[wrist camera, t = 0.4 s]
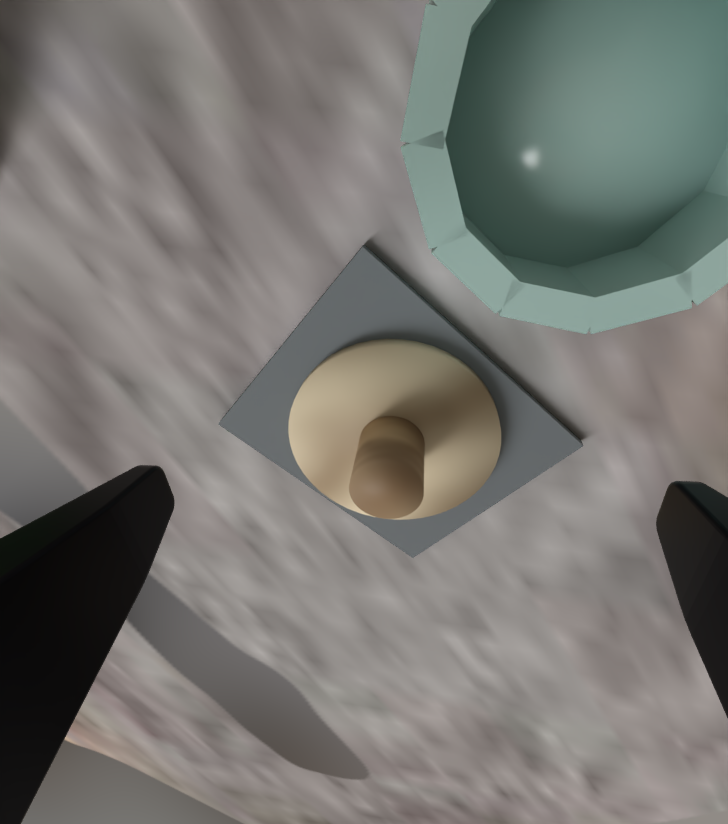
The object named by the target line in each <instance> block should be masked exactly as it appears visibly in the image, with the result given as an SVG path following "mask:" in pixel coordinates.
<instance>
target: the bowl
mask: <svg viewBox="0 0 728 824" xmlns="http://www.w3.org/2000/svg"><path fill="white" fill-rule="evenodd" d="M400 141H403V142H406V143H405V144H404V145H403V146H401V150H402V154H403V157H404V161H405V165H406V168H407V172H408V175H409V179H410V183H411V186H412V190H413V193H414V197H415V200H416V204H417V208H418V211H419V215H420V218H421V222H422V226H423V229H424V233H425V236H426V240H427V243H428V247H429V249H431V248H432V254H433V255H434V256H435V257H436V258H437V259H438V260H439V261H440V262H441V263H442V264H443V265H444V266H445V267H446V268H448V269H449V270H450V271H451V272H452V273H453V274H454V275H455V276H456V277H457V278H458V279H459V280H460V281H461V282H462V283H463V284H464V285H465V286H467V287H468V288H469V289H470V290H471V291H472V292H473V293H474V294H475V295H476V296H477V297H478V298H479V299H480V300H481V301H482V302H483V303H485V304H486V305H487V306H488V307H489V308H490V309H491V310H492V311H493V312H494V313H495V314H496V313H497V312H498V313H499V316H502V317H507V318H511V319H516V320H521V321H526V322H530V323H535V324H540V325H545V326H549V327H554V328H559V329H564V330H568V331H573V332H578V333H583V334H587V332H588V331H589V332H590V333H591V334H593V333H597V332H601V331H605V330H609V329H613V328H617V327H620V326H624V325H628V324H632V323H636V322H640V321H644V320H648V319H651V318H655V317H659V316H663V315H667V314H671V313H675V312H678V311H682V310H686V309H690V308H692V302H693V303H694V304H696V305H698V304H700V303H701V302H703V301H704V300H705V299H707V298H708V297H709V296H711V295H712V294H714V293H715V292H716V291H718V290H719V289H720V288H722V287H723V286H725V285H726V284H727V283H728V0H429V4H426V6H425V12H424V17H423V22H422V28H421V33H420V38H419V44H418V49H417V55H416V60H415V65H414V71H413V76H412V81H411V87H410V92H409V97H408V103H407V108H406V114H405V119H404V124H403V130H402V135H401V140H400Z"/></svg>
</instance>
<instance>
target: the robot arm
mask: <svg viewBox="0 0 728 824" xmlns="http://www.w3.org/2000/svg"><path fill="white" fill-rule="evenodd" d="M173 509H174V496H173V494H172V491H171V488H170V486H169V483H168V481H167V478H166V476H165V473H164V471H163V469H162V468H161V467H159V466H152V465H140V466H136V467H134V468H132V469H130V470H129V471H127V472H125V473H123V474H121V475H119V476H117V477H115V478H113V479H112V480H110V481H108V482H106V483H104V484H102V485H100V486H98V487H96V488H95V489H93V490H91V491H89V492H87V493H85V494H83V495H82V496H80V497H78V498H76V499H74V500H72V501H70V502H68V503H66V504H65V505H63V506H61V507H59V508H57V509H55V510H53V511H51V512H49V513H48V514H46V515H44V516H42V517H40V518H38V519H36V520H34V521H32V522H31V523H29V524H27V525H25V526H23V527H21V528H19V529H17V530H15V531H14V532H12V533H10V534H8V535H6V536H4V537H2V538H0V824H21V822H22V820H23V818H24V816H25V815H26V813H27V811H28V809H29V807H30V805H31V803H32V801H33V799H34V797H35V795H36V793H37V791H38V789H39V787H40V785H41V783H42V781H43V780H44V778H45V776H46V774H47V772H48V770H49V768H50V766H51V764H52V762H53V760H54V758H55V756H56V754H57V752H58V750H59V748H60V746H61V744H62V743H63V741H64V739H65V737H66V735H67V733H68V731H69V729H70V727H71V725H72V723H73V721H74V719H75V717H76V715H77V713H78V711H79V709H80V707H81V706H82V704H83V702H84V700H85V698H86V696H87V694H88V692H89V690H90V688H91V686H92V684H93V682H94V680H95V678H96V676H97V674H98V672H99V670H100V668H101V667H102V665H103V663H104V661H105V659H106V657H107V655H108V653H109V651H110V649H111V647H112V645H113V643H114V641H115V639H116V637H117V635H118V633H119V631H120V630H121V628H122V626H123V624H124V622H125V620H126V618H127V616H128V614H129V612H130V610H131V608H132V606H133V604H134V602H135V600H136V598H137V596H138V594H139V592H140V590H141V588H142V586H143V584H144V582H145V580H146V577H147V575H148V573H149V571H150V568H151V566H152V563H153V561H154V558H155V555H156V553H157V550H158V548H159V545H160V543H161V540H162V538H163V535H164V533H165V530H166V528H167V525H168V522H169V520H170V517H171V515H172V512H173ZM656 527H657V533H658V536H659V539H660V542H661V546H662V549H663V552H664V555H665V559H666V562H667V565H668V568H669V571H670V575H671V578H672V581H673V584H674V588H675V591H676V594H677V597H678V600H679V604H680V607H681V610H682V613H683V615H684V618H685V621H686V623H687V626H688V628H689V631H690V633H691V636H692V638H693V640H694V642H695V645H696V647H697V649H698V652H699V654H700V656H701V658H702V661H703V663H704V665H705V668H706V670H707V672H708V674H709V677H710V679H711V681H712V684H713V686H714V688H715V690H716V693H717V695H718V697H719V699H720V702H721V704H722V706H723V709H724V711H725V713H726V715H727V718H728V497H726V496H724V495H723V494H721V493H719V492H718V491H716V490H714V489H713V488H711V487H709V486H707V485H706V484H704V483H701V482H691V481H675V482H672V483H671V484H670V485H669V486H668V488H667V491H666V494H665V496H664V499H663V502H662V505H661V508H660V510H659V513H658V516H657V521H656Z"/></svg>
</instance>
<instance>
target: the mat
mask: <svg viewBox="0 0 728 824" xmlns="http://www.w3.org/2000/svg"><path fill="white" fill-rule="evenodd" d="M379 339H404V340H411V341H417V342H421V343H424V344H428V345H432V346H434V347H437V348H439V349H441V350H444V351H446V352H448V353H449V354H451V355H453V356H455V357H456V358H458V359H460V360H461V361H462V362H463V363H465V364H466V365H467V366H469V367H470V368H471V369H472V370H473V371H474V372H475V373H476V374H477V375H478V376H479V377H480V379H481V380H482V381H483V383H484V384H485V385H486V387H487V388H488V390H489V392H490V394H491V396H492V398H493V400H494V403H495V406H496V409H497V412H498V416H499V421H500V427H501V448H500V454H499V457H498V460H497V463H496V466H495V468H494V470H493V471H492V473H491V475H490V477H489V478H488V479H487V481H486V482H485V484H484V485H483V486H482V487H481V488H480V489H479V490H478V491H477V492H476V493H475V494H474V495H472V496H471V497H470V498H469V499H467V500H466V501H464V502H463V503H461V504H459V505H458V506H456V507H454V508H452V509H450V510H447V511H445V512H442V513H439V514H436V515H433V516H428V517H424V518H417V519H406V520H394V519H383V518H377V517H372V516H368V515H364V514H361V513H358V512H355V511H353V510H350V509H348V508H346V507H344V506H342V505H339V504H338V503H336V502H334V501H333V500H331V499H330V498H328V497H327V496H325V495H324V494H323V493H322V492H320V491H319V490H318V489H317V488H316V487H315V486H314V485H313V484H312V483H311V482H310V481H309V480H308V478H307V477H306V476H305V475H304V473H303V472H302V470H301V469H300V467H299V466H298V464H297V462H296V459H295V457H294V455H293V452H292V449H291V445H290V440H289V433H288V426H289V416H290V411H291V408H292V405H293V402H294V399H295V397H296V395H297V393H298V391H299V389H300V387H301V386H302V384H303V382H304V380H305V379H306V378H307V376H308V375H309V374H310V372H311V371H312V370H313V369H314V368H315V367H316V366H317V365H319V364H320V363H321V362H322V361H323V360H325V359H326V358H328V357H329V356H330V355H332V354H334V353H336V352H338V351H340V350H341V349H343V348H346V347H349V346H352V345H354V344H357V343H361V342H366V341H370V340H379ZM219 425H220V426H222V427H223V428H225V429H226V430H227V431H229V432H230V433H232V434H233V435H235V436H236V437H238V438H239V439H241V440H242V441H243V442H245V443H246V444H248V445H249V446H251V447H252V448H254V449H255V450H257V451H258V452H259V453H261V454H262V455H264V456H265V457H267V458H268V459H270V460H271V461H273V462H274V463H275V464H277V465H278V466H280V467H281V468H283V469H284V470H286V471H287V472H289V473H290V474H291V475H293V476H294V477H296V478H297V479H299V480H300V481H302V482H303V483H305V484H306V485H307V486H309V487H310V488H312V489H313V490H315V491H316V492H318V493H319V494H321V495H322V496H323V497H325V498H326V499H328V500H329V501H331V502H332V503H334V504H335V505H337V506H338V507H339V508H341V509H342V510H344V511H345V512H347V513H348V514H350V515H351V516H353V517H354V518H355V519H357V520H358V521H360V522H361V523H363V524H364V525H366V526H367V527H369V528H370V529H371V530H373V531H374V532H376V533H377V534H379V535H380V536H382V537H383V538H385V539H386V540H387V541H389V542H390V543H392V544H393V545H395V546H396V547H398V548H399V549H401V550H402V551H403V552H405V553H406V554H408V555H409V556H411V557H412V558H413V557H415V556H417V555H418V554H420V553H421V552H423V551H424V550H426V549H427V548H429V547H430V546H432V545H433V544H435V543H436V542H438V541H439V540H441V539H442V538H444V537H445V536H447V535H448V534H450V533H451V532H453V531H455V530H456V529H458V528H459V527H461V526H462V525H464V524H465V523H467V522H468V521H470V520H471V519H473V518H474V517H476V516H477V515H479V514H480V513H482V512H483V511H485V510H486V509H488V508H489V507H491V506H493V505H494V504H496V503H497V502H499V501H500V500H502V499H503V498H505V497H506V496H508V495H509V494H511V493H512V492H514V491H515V490H517V489H518V488H520V487H521V486H523V485H524V484H526V483H528V482H529V481H531V480H532V479H534V478H535V477H537V476H538V475H540V474H541V473H543V472H544V471H546V470H547V469H549V468H550V467H552V466H553V465H555V464H556V463H558V462H559V461H561V460H562V459H564V458H566V457H567V456H569V455H570V454H572V453H573V452H575V451H576V450H578V449H579V448H581V447H582V446H583V444H582V442H581V440H580V439H578V438H577V437H576V436H575V435H574V434H573V433H572V432H571V431H570V430H568V429H567V428H566V427H565V426H564V425H563V424H562V423H561V422H560V421H559V420H557V419H556V418H555V417H554V416H553V415H552V414H551V413H550V412H549V411H547V410H546V409H545V408H544V407H543V406H542V405H541V404H540V403H539V402H538V401H536V400H535V399H534V398H533V397H532V396H531V395H530V394H529V393H528V392H526V391H525V390H524V389H523V388H522V387H521V386H520V385H519V384H518V383H516V382H515V381H514V380H513V379H512V378H511V377H510V376H509V375H508V374H507V373H505V372H504V371H503V370H502V369H501V368H500V367H499V366H498V365H497V364H495V363H494V362H493V361H492V360H491V359H490V358H489V357H488V356H487V355H485V354H484V353H483V352H482V351H481V350H480V349H479V348H478V347H477V346H476V345H474V344H473V343H472V342H471V341H470V340H469V339H468V338H467V337H466V336H464V335H463V334H462V333H461V332H460V331H459V330H458V329H457V328H456V327H455V326H453V325H452V324H451V323H450V322H449V321H448V320H447V319H446V318H445V317H443V316H442V315H441V314H440V313H439V312H438V311H437V310H436V309H435V308H433V307H432V306H431V305H430V304H429V303H428V302H427V301H426V300H425V299H424V298H422V297H421V296H420V295H419V294H418V293H417V292H416V291H415V290H414V289H412V288H411V287H410V286H409V285H408V284H407V283H406V282H405V281H404V280H402V279H401V278H400V277H399V276H398V275H397V274H396V273H395V272H394V271H393V270H391V269H390V268H389V267H388V266H387V265H386V264H385V263H384V262H383V261H381V260H380V259H379V258H378V257H377V256H376V255H375V254H374V253H373V252H372V251H370V250H369V249H368V248H367V247H366V246H365V245H363V246H362V247H361V249H360V250H359V251H358V252H357V254H356V255H355V256H354V257H353V259H352V260H351V261H350V262H349V263H348V265H347V266H346V267H345V268H344V270H343V271H342V272H341V273H340V275H339V276H338V277H337V278H336V279H335V281H334V282H333V283H332V284H331V286H330V287H329V288H328V289H327V291H326V292H325V293H324V294H323V295H322V297H321V298H320V299H319V300H318V302H317V303H316V304H315V305H314V306H313V308H312V309H311V310H310V311H309V313H308V314H307V315H306V316H305V318H304V319H303V320H302V321H301V322H300V324H299V325H298V326H297V327H296V329H295V330H294V331H293V332H292V334H291V335H290V336H289V337H288V338H287V340H286V341H285V342H284V343H283V345H282V346H281V347H280V348H279V350H278V351H277V352H276V353H275V354H274V356H273V357H272V358H271V359H270V361H269V362H268V363H267V364H266V366H265V367H264V368H263V369H262V370H261V372H260V373H259V374H258V375H257V377H256V378H255V379H254V380H253V382H252V383H251V384H250V385H249V386H248V388H247V389H246V390H245V391H244V393H243V394H242V395H241V396H240V398H239V399H238V400H237V401H236V402H235V404H234V405H233V406H232V407H231V409H230V410H229V411H228V412H227V413H226V415H225V416H224V417H223V418H222V420H221V421H220V422H219Z"/></svg>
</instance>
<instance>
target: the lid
mask: <svg viewBox="0 0 728 824" xmlns="http://www.w3.org/2000/svg"><path fill="white" fill-rule="evenodd" d="M288 433H289V440H290V445H291V449H292V452H293V455H294V457H295V459H296V462H297V464H298V466H299V467H300V469H301V470H302V472H303V473H304V475H305V476H306V477H307V478H308V480H309V481H310V482H311V483H312V484H313V485H314V486H315V487H316V488H317V489H318V490H319V491H320V492H322V493H323V494H324V495H325V496H327V497H328V498H330V499H331V500H333V501H334V502H336V503H338V504H339V505H342V506H344V507H346V508H348V509H350V510H353V511H355V512H358V513H361V514H364V515H368V516H372V517H377V518H383V519H394V520H406V519H417V518H424V517H428V516H433V515H436V514H439V513H442V512H445V511H447V510H450V509H452V508H454V507H456V506H458V505H459V504H461V503H463V502H464V501H466V500H467V499H469V498H470V497H471V496H472V495H474V494H475V493H476V492H477V491H478V490H479V489H480V488H481V487H482V486H483V485H484V484H485V482H486V481H487V479H488V478H489V477H490V475H491V473H492V471H493V470H494V468H495V466H496V463H497V460H498V457H499V454H500V448H501V427H500V421H499V416H498V412H497V409H496V406H495V403H494V400H493V398H492V396H491V394H490V392H489V390H488V388H487V387H486V385H485V384H484V383H483V381H482V380H481V379H480V377H479V376H478V375H477V374H476V373H475V372H474V371H473V370H472V369H471V368H470V367H469V366H467V365H466V364H465V363H463V362H462V361H461V360H460V359H458V358H456V357H455V356H453V355H451V354H449V353H448V352H446V351H444V350H441V349H439V348H437V347H434V346H432V345H428V344H424V343H421V342H417V341H411V340H404V339H379V340H370V341H366V342H361V343H357V344H354V345H352V346H349V347H346V348H343V349H341V350H340V351H338V352H336V353H334V354H332V355H330V356H329V357H328V358H326V359H325V360H323V361H322V362H321V363H320V364H319V365H317V366H316V367H315V368H314V369H313V370H312V371H311V372H310V374H309V375H308V376H307V378H306V379H305V380H304V382H303V384H302V386H301V387H300V389H299V391H298V393H297V395H296V397H295V399H294V402H293V405H292V408H291V411H290V416H289V426H288Z"/></svg>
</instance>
